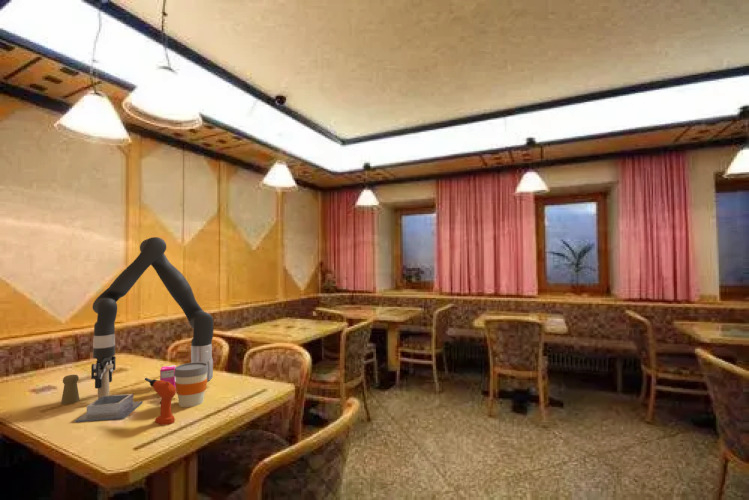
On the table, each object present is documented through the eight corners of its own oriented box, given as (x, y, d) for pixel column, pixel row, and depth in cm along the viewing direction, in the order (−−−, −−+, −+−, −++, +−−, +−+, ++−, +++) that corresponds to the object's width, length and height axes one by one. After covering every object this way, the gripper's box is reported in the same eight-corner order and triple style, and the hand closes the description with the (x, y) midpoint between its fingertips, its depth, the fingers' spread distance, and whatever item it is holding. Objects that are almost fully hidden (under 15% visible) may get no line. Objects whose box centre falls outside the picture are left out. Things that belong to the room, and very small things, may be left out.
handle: (114, 401, 157) (114, 364, 158) (95, 405, 153) (96, 368, 153) (111, 398, 161) (111, 363, 161) (92, 402, 156) (93, 366, 156)
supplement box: (161, 392, 168) (161, 366, 168) (176, 390, 170) (176, 364, 171) (159, 396, 163) (160, 369, 163) (175, 394, 165) (175, 367, 165)
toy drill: (149, 407, 146) (152, 369, 145) (177, 423, 136) (181, 383, 136) (136, 412, 141) (139, 372, 141) (164, 429, 132) (167, 386, 131)
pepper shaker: (83, 400, 159) (83, 373, 160) (67, 405, 153) (67, 377, 154) (73, 398, 161) (73, 372, 162) (57, 403, 155) (57, 376, 156)
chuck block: (142, 403, 155) (142, 391, 155) (123, 418, 139) (123, 405, 139) (99, 406, 152) (99, 394, 152) (75, 422, 136) (75, 409, 136)
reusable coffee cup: (173, 411, 146) (174, 372, 146) (174, 401, 157) (174, 364, 157) (209, 405, 151) (209, 367, 152) (207, 395, 162) (207, 360, 163)
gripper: (104, 348, 151) (104, 390, 150) (122, 341, 165) (122, 379, 165) (84, 349, 150) (83, 391, 149) (103, 342, 164) (103, 380, 163)
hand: (103, 385), depth 157 cm, fingers open, 7 cm apart
